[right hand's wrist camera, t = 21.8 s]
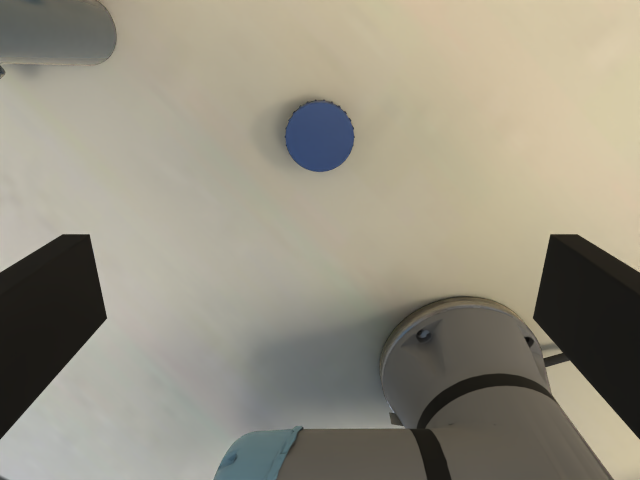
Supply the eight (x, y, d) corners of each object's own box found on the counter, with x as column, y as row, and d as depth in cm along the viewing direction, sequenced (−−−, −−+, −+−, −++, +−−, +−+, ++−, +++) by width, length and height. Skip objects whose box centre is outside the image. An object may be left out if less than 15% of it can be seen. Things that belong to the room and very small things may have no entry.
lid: (274, 119, 34) (271, 122, 32) (334, 86, 33) (335, 87, 31) (306, 178, 35) (305, 184, 33) (364, 148, 34) (366, 152, 33)
